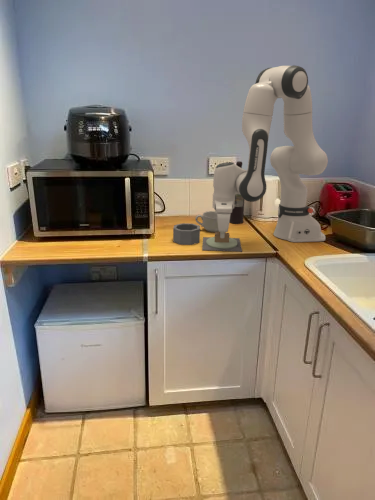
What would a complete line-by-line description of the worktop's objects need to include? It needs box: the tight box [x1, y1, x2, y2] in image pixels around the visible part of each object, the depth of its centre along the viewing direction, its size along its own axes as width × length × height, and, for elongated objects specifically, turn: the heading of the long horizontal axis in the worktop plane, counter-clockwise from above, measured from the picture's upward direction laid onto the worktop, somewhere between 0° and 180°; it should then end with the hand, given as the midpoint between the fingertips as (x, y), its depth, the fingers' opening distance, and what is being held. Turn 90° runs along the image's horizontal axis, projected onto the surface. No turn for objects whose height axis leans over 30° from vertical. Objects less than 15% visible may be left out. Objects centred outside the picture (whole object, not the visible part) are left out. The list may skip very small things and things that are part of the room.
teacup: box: [194, 210, 220, 233], centre depth 177 cm, size 14×11×8 cm
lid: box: [206, 232, 237, 249], centre depth 158 cm, size 13×13×4 cm
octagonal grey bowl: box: [172, 222, 201, 246], centre depth 162 cm, size 11×11×6 cm
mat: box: [201, 236, 243, 253], centre depth 159 cm, size 16×16×1 cm
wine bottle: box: [229, 161, 246, 225], centre depth 186 cm, size 7×7×30 cm
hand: (222, 236), depth 158 cm, fingers open, 3 cm apart
